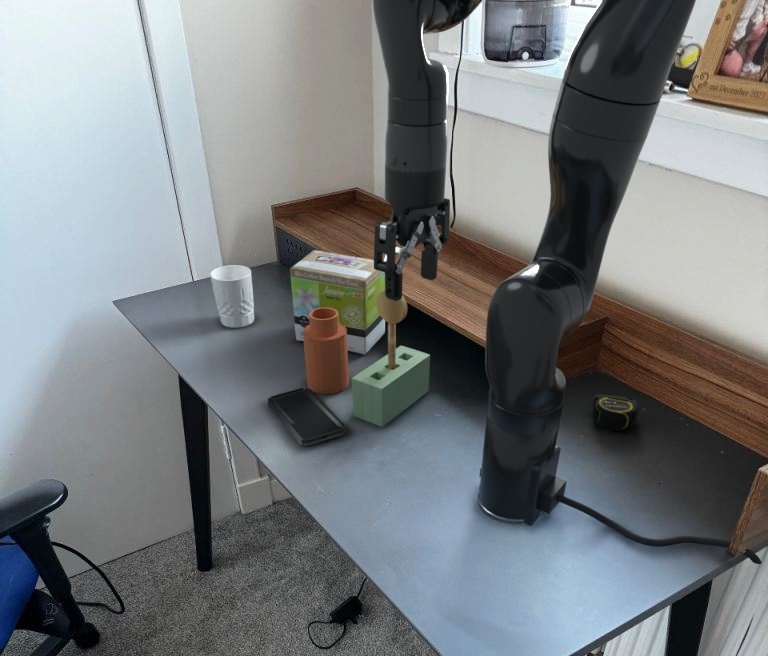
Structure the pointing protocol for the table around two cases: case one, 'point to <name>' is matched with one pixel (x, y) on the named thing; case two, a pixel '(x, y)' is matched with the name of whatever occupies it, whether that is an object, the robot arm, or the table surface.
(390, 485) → the table surface
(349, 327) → the tea box
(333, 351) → the bottle
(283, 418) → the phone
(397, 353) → the holder
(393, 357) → the tan flat rounded part
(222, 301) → the white cup
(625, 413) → the tape measure
